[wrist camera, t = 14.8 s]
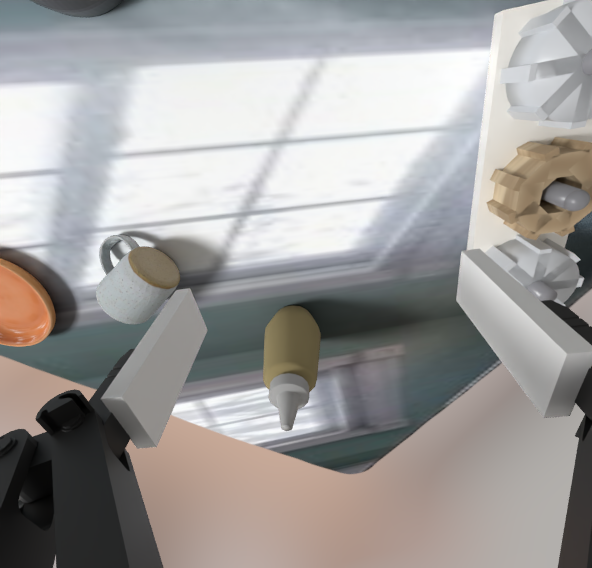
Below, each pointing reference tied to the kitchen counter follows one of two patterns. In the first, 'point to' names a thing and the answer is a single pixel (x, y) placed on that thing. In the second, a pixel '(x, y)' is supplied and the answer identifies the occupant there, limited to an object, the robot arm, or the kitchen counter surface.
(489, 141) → the gear board
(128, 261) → the ceramic mug
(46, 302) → the saucer
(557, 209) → the wooden gear
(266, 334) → the squeeze bottle
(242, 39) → the kitchen counter surface
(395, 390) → the kitchen counter surface
